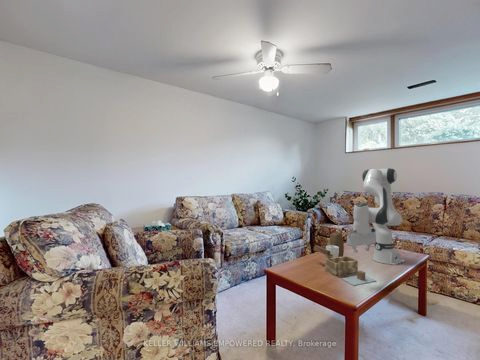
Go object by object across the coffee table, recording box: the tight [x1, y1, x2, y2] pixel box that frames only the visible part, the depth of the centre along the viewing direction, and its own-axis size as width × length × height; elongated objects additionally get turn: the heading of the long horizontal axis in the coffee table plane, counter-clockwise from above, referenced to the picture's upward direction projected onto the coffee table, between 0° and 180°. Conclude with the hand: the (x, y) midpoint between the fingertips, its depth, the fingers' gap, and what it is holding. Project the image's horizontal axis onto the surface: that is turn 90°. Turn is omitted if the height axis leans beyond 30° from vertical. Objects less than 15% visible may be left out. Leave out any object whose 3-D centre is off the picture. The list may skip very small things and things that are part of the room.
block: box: [328, 231, 345, 257], centre depth 186 cm, size 11×8×20 cm
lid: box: [340, 270, 377, 287], centre depth 146 cm, size 18×10×6 cm, turn 110°
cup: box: [325, 244, 339, 258], centre depth 176 cm, size 9×9×12 cm
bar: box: [313, 244, 330, 256], centre depth 171 cm, size 2×15×3 cm, turn 18°
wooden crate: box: [324, 254, 359, 278], centre depth 159 cm, size 18×13×10 cm
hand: (361, 251), depth 146 cm, fingers open, 8 cm apart
